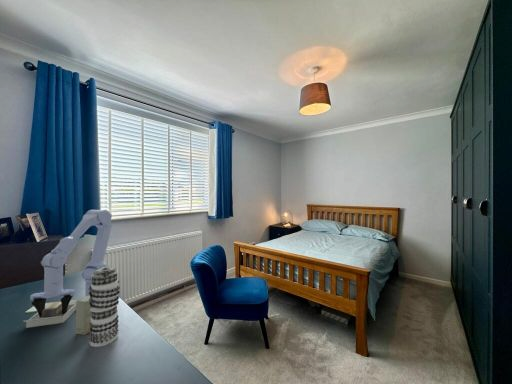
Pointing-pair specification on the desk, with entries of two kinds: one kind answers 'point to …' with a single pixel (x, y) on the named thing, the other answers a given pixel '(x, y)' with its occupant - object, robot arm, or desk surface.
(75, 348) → the desk surface
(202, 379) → the desk surface
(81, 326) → the skincare box
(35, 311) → the pad
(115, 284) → the decorative candle
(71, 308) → the white flat frame
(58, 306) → the block
